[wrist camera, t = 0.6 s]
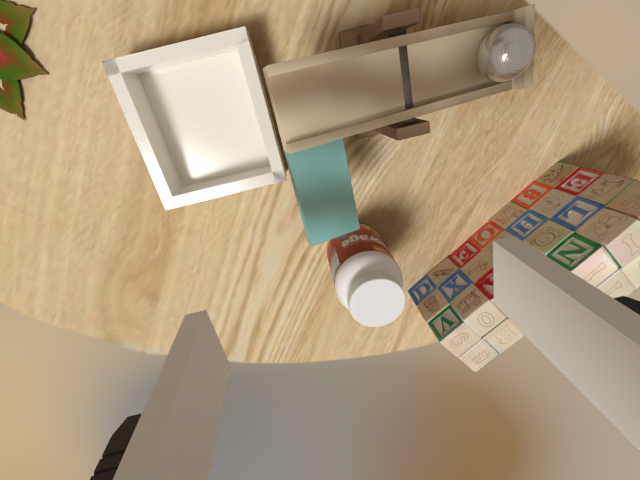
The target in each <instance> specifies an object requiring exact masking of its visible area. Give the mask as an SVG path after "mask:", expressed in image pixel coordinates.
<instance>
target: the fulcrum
mask: <svg viewBox="0 0 640 480" xmlns="http://www.w3.org/2000/svg"><path fill="white" fill-rule="evenodd" d="M419 22H420V14H419V7H418V8H414V9H410V10H406V11H401V12H397V13H393V14H389V15H385V16H382V17H380V18H379V19H378V20H377V21H375V22H374V23H373V24H370V25H365V26H361V27H357V28H353V29H349V30H345V31H341V32H340V33H339V36H340V41H341V47H342V48H347V47H351V46H356V45H360V44H365V43H369V42H374V41H378V40H383V39H387V38H388V35H389V34H392V33H395V32H398V31H403V30H405V29H407V28H409V27H411V26H413V25H415V24H417V23H419ZM380 133H381V134H384V135H386V136H388V137H391V138H393V139H395V140H402V139H406V138H410V137H414V136H418V135H422V134H427V133H430V125H429V121H426V120H421V119H416V118H415V120H414V121H410V122H406V123H399V122H397V123H394V124H390V125H387V126H383V127H380V128H376V129H373V130H370V131H366V132H363V133H359V134H357V138H358V139H360V138H364V137H368V136H372V135H376V134H380Z"/></svg>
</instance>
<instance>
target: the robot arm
mask: <svg viewBox="0 0 640 480" xmlns="http://www.w3.org/2000/svg"><path fill="white" fill-rule="evenodd" d="M493 280H494V304H495V305H496V306H497V307H498V308H499V309H500V310H501V311H502V312H503V313H504V314H505V315H506V316H507V317H508V318H509V319H510V320H511V321H512V322H513V323H514V324H515V325H516V326H517V327H518V328H519V329H520V330H521V331H522V332H523V333H524V334H525V335H526V336H527V337H528V338H529V339H530V340H531V341H532V342H533V343H534V344H535V345H536V346H537V347H538V348H539V349H540V350H541V351H542V352H543V354H545V356H546V357H548V359H550V360H551V362H552V363H553V364H554V365H555V366H556V367H557V368H558V369H559V370H560V371H561V372H562V373H563V374H564V375H565V376H566V377H567V378H568V379H569V380H570V381H571V382H572V383H573V384H574V385H575V386H576V387H577V388H578V389H579V390H580V391H581V392H582V393H583V394H584V395H585V396H586V397H587V398H588V399H589V400H590V401H591V402H592V403H593V404H594V405H595V406H596V407H597V408H598V409H599V410H600V411H601V412H602V413H603V414H604V415H605V416H606V417H607V418H608V419H609V420H610V421H611V422H612V423H613V424H614V425H615V426H616V427H617V428H618V429H619V430H620V431H621V432H622V433H623V434H624V435H625V437H626V438H627V439H628V440H629V441H631V443H632V444H633V445H634V446H635V447H636V448H637V449H638V450H639V451H640V301H637V300H634V299H631V298H628V297H625V296H621V297H617V298H612V297H610V296H609V295H607V294H605V293H604V292H602V291H601V290H599V289H598V288H596V287H594V286H593V285H591V284H590V283H588V282H586V281H585V280H583V279H582V278H580V277H578V276H577V275H575V274H574V273H572V272H571V271H569V270H567V269H566V268H564V267H563V266H561V265H559V264H558V263H556V262H555V261H553V260H551V259H550V258H548V257H547V256H545V255H544V254H542V253H540V252H539V251H537V250H536V249H534V248H532V247H531V246H529V245H528V244H526V243H525V242H523V241H521V240H520V239H518V238H517V237H515V236H510V237H506V238H502V239H498V240H494V241H493ZM230 368H231V367H230V364H229V362H228V360H227V357H226V355H225V353H224V350H223V348H222V346H221V343H220V341H219V339H218V336H217V334H216V332H215V329H214V327H213V325H212V323H211V320H210V318H209V316H208V313H207V311H206V310H204V311H200V312H196V313H192V314H188V315H185V317H184V319H183V322H182V324H181V326H180V328H179V331H178V333H177V335H176V338H175V340H174V342H173V344H172V347H171V349H170V351H169V353H168V356H167V358H166V361H165V362H164V365H163V367H162V369H161V371H160V374H159V376H158V378H157V381H156V383H155V385H154V387H153V390H152V392H151V394H150V396H149V399H148V401H147V403H146V406H145V408H144V410H143V412H142V414H138V415H134V416H130V417H127V418H126V420H125V421H124V422H123V423H122V424H121V426H120V427H119V428H118V429H117V430H116V431H115V433H114V434H113V435H112V437H111V439H110V441H109V443H108V445H107V447H106V449H105V451H104V453H103V455H102V456H103V458H102V459H100V461H99V463H98V465H97V467H96V469H95V471H94V476H92V477H91V479H90V480H209V475H210V470H211V465H212V460H213V455H214V449H215V445H216V440H217V435H218V429H219V424H220V419H221V414H222V409H223V403H224V399H225V393H226V388H227V383H228V378H229V373H230Z"/></svg>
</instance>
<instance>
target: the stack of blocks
mask: <svg viewBox="0 0 640 480" xmlns="http://www.w3.org/2000/svg"><path fill="white" fill-rule="evenodd" d="M510 236H515V237H517V238H518V239H520V240H521V241H523V242H525V243H526V244H528V245H529V246H531V247H532V248H534V249H536V250H537V251H539V252H540V253H542V254H544V255H545V256H547V257H548V258H550V259H551V260H553V261H555V262H556V263H558V264H559V265H561V266H563V267H564V268H566V269H567V270H569V271H571V272H572V273H574V274H575V275H577V276H578V277H580V278H582V279H583V280H585V281H586V282H588V283H590V284H591V285H593V286H594V287H596V288H598V289H599V290H601V291H602V292H604V293H605V294H607V295H609V296H610V297H612V298H617V297H621V296H625V297H626V296H628V295H629V294H630V293H631V292H632V291H633V290H634V289H637V288H638V287H640V181H638V180H636V179H632V178H626V177H623V176H618V175H615V174H610V173H603V172H599V171H595V170H591V169H586V168H580V167H578V166H575V165H571V164H567V163H562V162H557V163H555V164H554V165H553V166H552V167H551V168H550V169H548V170H547V171H546V172H545V173H544V174H543V175H541V176H540V177H539V178H538V179H537V180H535V181H534V182H532V183H531V184H530V185H529V186H528V187H526V188H525V189H524V190H523V191H522V192H521V193H519V194H518V195H517V196H516V197H515V198H514V199H512V201H510V202H509V203H508V204H507V205H505V206H504V207H503V208H502V209H501V210H500V211H498V212H497V213H496V214H495V215H494V216H493V217H491V218H490V220H489V221H488V222H487V223H486V224H485V225H484V226H483V227H481V228H480V229H479V230H478V231H477V232H476V233H475V234H473V235H472V236H471V237H470V238H469V239H468V240H467V241H466V242H465V243H464V244H462V245H461V246H460V247H459V248H458V249H457V250H456V251H454V252H453V253H452V254H451V255H450V256H449V257H448V258H445V259H444V260H443V261H442V262H441V263H440V264H438V265H437V266H436V267H435V268H434V269H433V270H431V271H430V272H429V273H428V274H427V275H426V276H425V277H423V278H422V279H421V280H420V281H419V282H418V283H417V284H416V285H414V286H413V287H412V288H411V289H410V290H409V291H408V292H409V294H410V296H411V298H412V299H413V301H414V303H415V304H416V306H417V308H418V310H419V311H420V313H421V315H422V316H423V318H424V319H425V321H426V322H427V323H428V325H429V326H430V328H431V330H432V331H433V333H434V334H435V336H436V337H437V339H438V340H439V342H440V343H441V344H442V345H444V346H445V347H446V348H447V349H448V350H449V351H451V352H452V353H453V354H454V355H455V356H456V357H458V358H459V359H461V360H462V361H463V362H464V363H465V364H466V365H468V366H469V367H470V368H471V369H472V370H473V371H475V372H476V371H478V370H479V369H480V368H482V367H483V366H484V365H485V364H487V363H488V362H489V361H491V360H492V359H493V358H495V357H496V356H497V355H498V353H502V352H503V351H505V350H506V349H507V348H508V347H510V346H511V345H512V344H514V343H515V342H516V341H518V340H519V339H520V338H522V337H523V335H525V334H524V333H523V332H522V331H521V330H520V329H519V328H518V327H517V326H516V325H515V324H514V323H513V322H512V321H511V320H510V319H509V318H508V317H507V316H506V315H505V314H504V313H503V312H502V311H501V310H500V309H499V308H498V307H497V306H496V305H495V304H494V280H493V241H494V240H498V239H502V238H506V237H510Z"/></svg>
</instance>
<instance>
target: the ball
mask: <svg viewBox="0 0 640 480" xmlns="http://www.w3.org/2000/svg"><path fill="white" fill-rule="evenodd" d="M535 48H536V44H535V39H534V36H533V34H532V33H531V31H530V30H529V29H528V28H526V27H525V26H523V25H520V24H512V23H510V24H505V25H502V26H499V27H497V28H496V29H494V30H493V31H491V32H490V33H489V34H488V35H487V36H486V37H485V38H484V40H483V41H482V43H481V45H480V47H479V50H478V53H477V65H478V68H479V71H480V72H481V74H482V75H483V76H484V77H485V78H487V79H488V80H490V81H494V82H506V81H510V80H512V79H514V78H516V77H518V76H519V75H521V74H522V73H523V72H524V71H525V70H526V69H527V68H528V66H529V65H530V63H531V62H532V60H533V57H534V54H535Z"/></svg>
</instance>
